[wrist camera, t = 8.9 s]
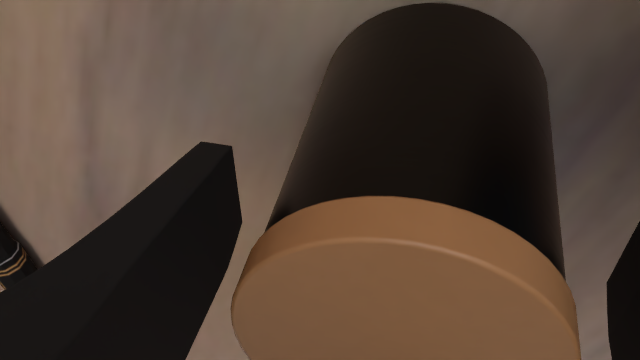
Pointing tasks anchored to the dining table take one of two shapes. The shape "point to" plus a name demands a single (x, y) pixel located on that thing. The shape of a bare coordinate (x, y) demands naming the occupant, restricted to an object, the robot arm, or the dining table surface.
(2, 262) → the fountain pen
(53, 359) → the robot arm
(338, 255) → the tea tin
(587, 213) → the dining table surface
